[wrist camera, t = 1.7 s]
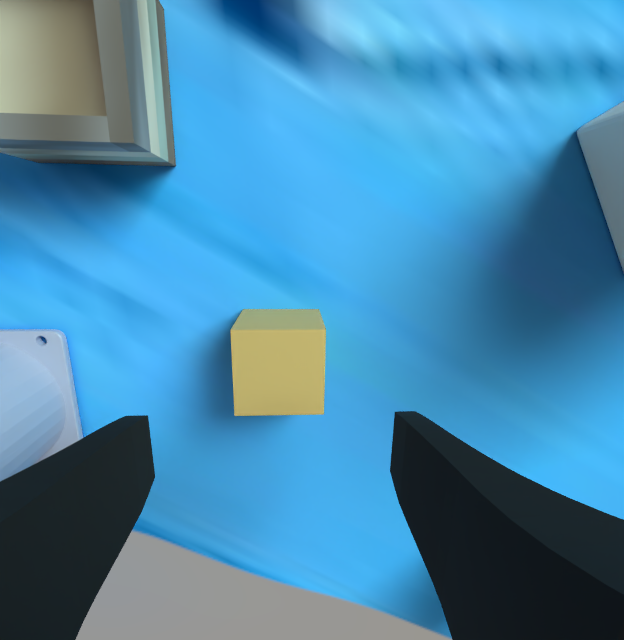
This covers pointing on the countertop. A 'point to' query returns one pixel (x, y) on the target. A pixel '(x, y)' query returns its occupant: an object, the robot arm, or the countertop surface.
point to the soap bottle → (607, 168)
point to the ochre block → (278, 362)
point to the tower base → (85, 82)
